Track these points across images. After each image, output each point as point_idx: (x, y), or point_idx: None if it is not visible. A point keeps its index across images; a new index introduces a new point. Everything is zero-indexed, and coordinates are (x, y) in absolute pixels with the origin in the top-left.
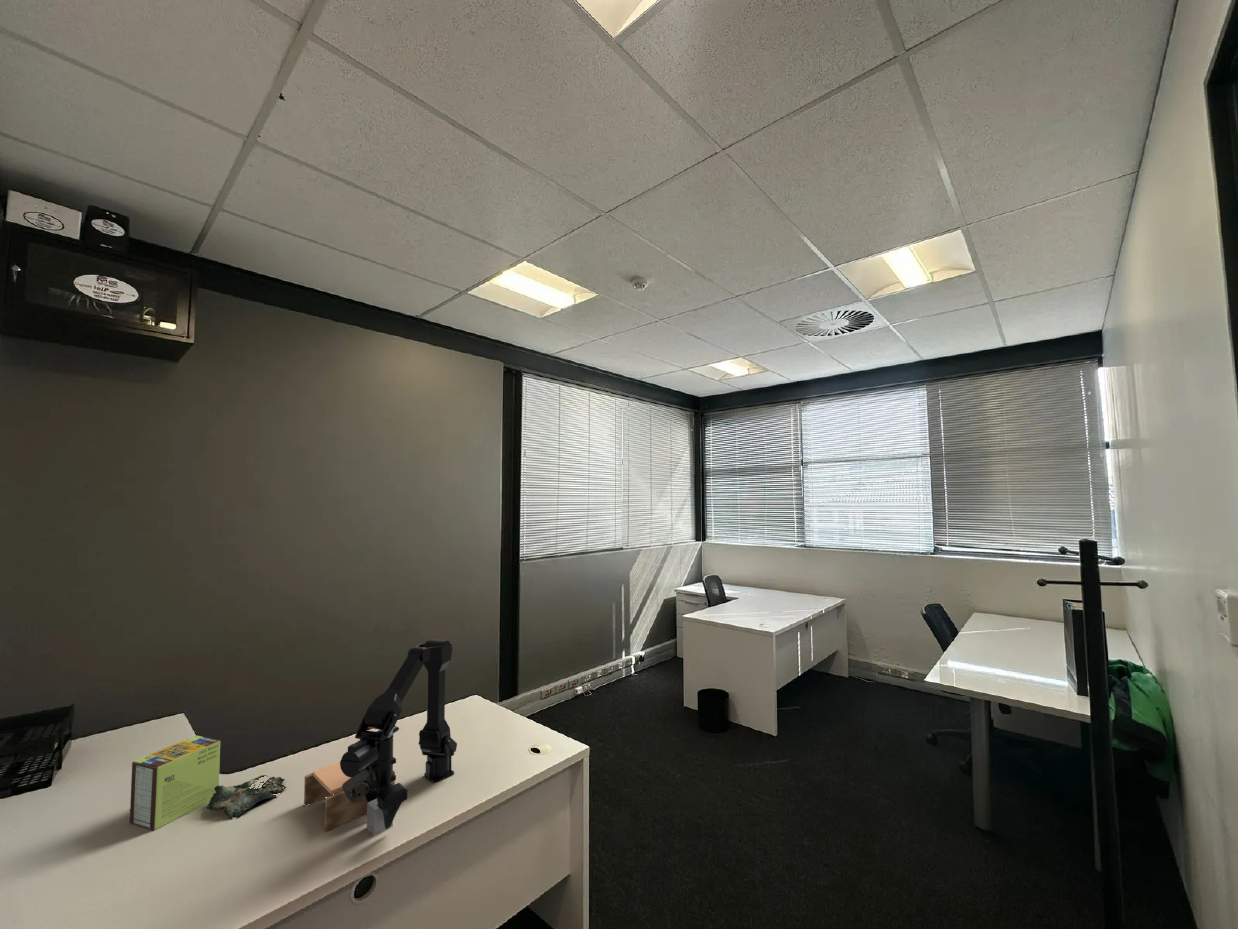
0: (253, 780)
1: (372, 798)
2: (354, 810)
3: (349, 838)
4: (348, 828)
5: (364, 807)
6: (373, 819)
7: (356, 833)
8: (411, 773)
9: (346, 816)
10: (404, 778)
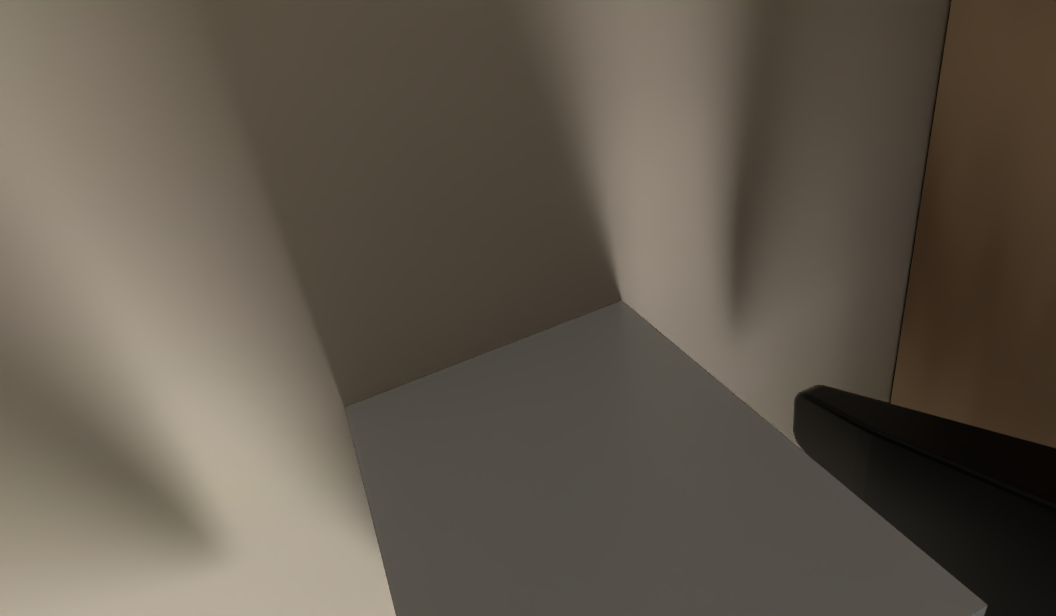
0: None
1: (1035, 577)
2: (1049, 180)
3: (512, 11)
4: (795, 42)
5: (992, 308)
6: (458, 578)
7: (582, 148)
8: None
9: (1037, 42)
10: None
